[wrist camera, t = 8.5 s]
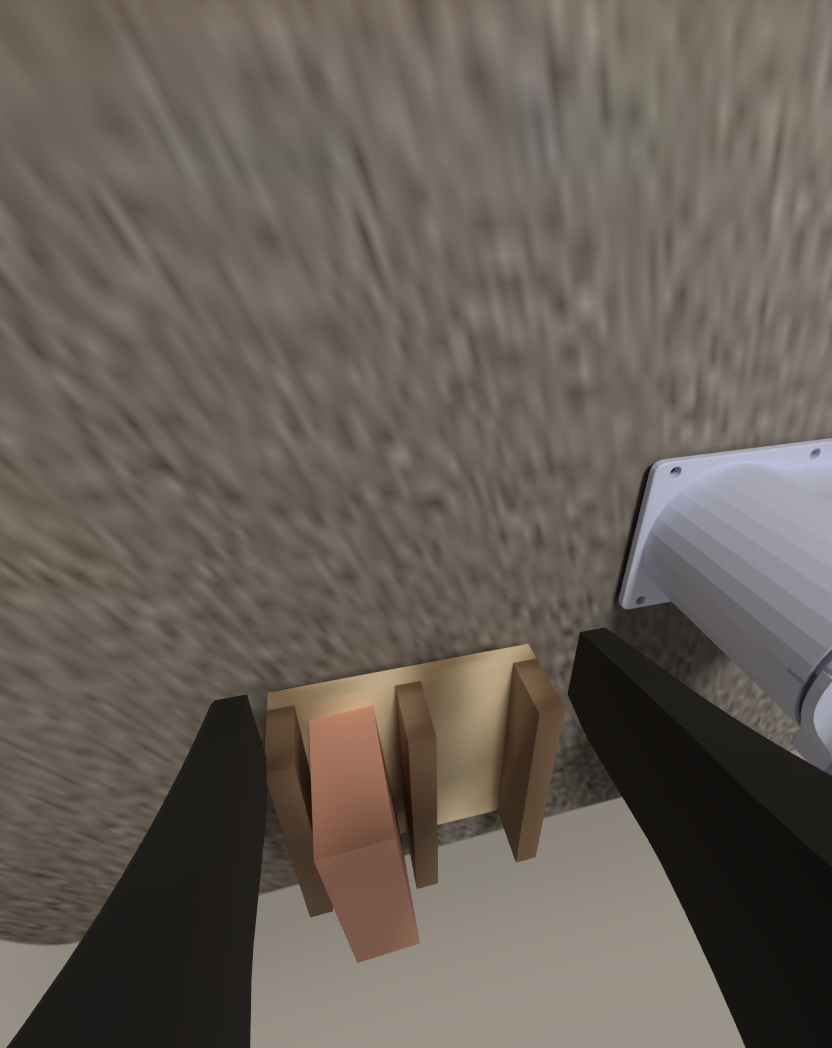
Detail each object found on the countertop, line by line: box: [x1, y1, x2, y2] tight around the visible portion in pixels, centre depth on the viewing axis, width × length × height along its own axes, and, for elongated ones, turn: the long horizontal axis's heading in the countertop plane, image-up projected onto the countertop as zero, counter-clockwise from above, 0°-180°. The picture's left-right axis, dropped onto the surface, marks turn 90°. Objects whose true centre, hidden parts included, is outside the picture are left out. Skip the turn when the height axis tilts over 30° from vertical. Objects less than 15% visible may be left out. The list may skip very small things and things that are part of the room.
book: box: [309, 705, 420, 963], centre depth 23 cm, size 3×10×6 cm, turn 6°
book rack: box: [265, 644, 565, 917], centre depth 25 cm, size 13×13×4 cm
